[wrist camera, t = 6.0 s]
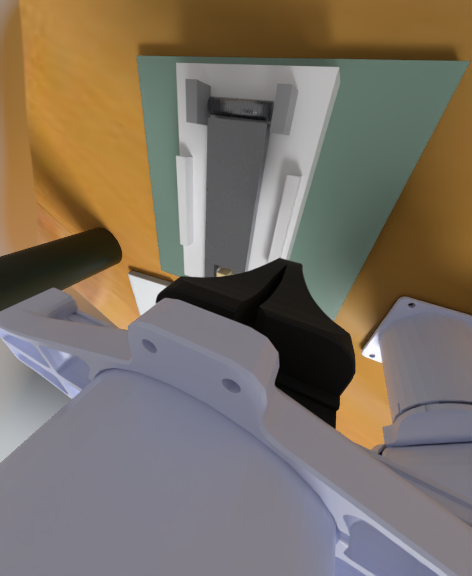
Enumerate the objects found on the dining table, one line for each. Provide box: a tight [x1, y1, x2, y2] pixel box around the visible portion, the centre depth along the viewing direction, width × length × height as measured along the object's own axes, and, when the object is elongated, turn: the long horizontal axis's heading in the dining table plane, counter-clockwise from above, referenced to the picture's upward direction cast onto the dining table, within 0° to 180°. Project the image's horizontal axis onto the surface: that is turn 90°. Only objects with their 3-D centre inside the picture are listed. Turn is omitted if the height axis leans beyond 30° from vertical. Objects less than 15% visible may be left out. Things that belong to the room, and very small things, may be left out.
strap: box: [205, 96, 274, 277], centre depth 17 cm, size 16×4×1 cm, turn 174°
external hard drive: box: [128, 271, 172, 316], centre depth 35 cm, size 2×8×12 cm
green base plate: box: [137, 56, 470, 321], centre depth 18 cm, size 22×20×6 cm
